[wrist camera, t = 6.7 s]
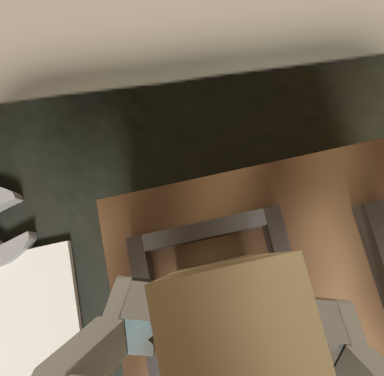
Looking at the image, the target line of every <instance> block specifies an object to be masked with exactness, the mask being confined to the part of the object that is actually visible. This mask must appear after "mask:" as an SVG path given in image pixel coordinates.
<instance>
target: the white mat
mask: <svg viewBox="0 0 384 376" xmlns="http://www.w3.org/2000/svg"><path fill="white" fill-rule="evenodd" d="M82 329H83V327H82V320H81V313H80V305H79V298H78V291H77V284H76V277H75V270H74V262H73V255H72V248H71V241H64V242H59V243H55V244H50V245H45V246H41V247H36V248H32V249H27V250H26V251H25V252H24V253H23V254H21V255H20V256H19V257H18V258H17V259H16V260H14V261H13V262H11V263H9V264H7V265H4V266H2V267H0V376H31V375H32V373H33V371H34V369H35V367H37V366H38V365H39V364H40V363H42V362H43V361H44V360H45V359H46V358H48V357H49V356H50V355H51V354H52V353H54V352H55V351H56V350H57V349H59V348H60V347H61V346H62V345H63V344H65V343H66V342H67V341H68V340H69V339H71V338H72V337H73V336H74V335H76V334H77V333H78V332H79V331H80V330H82Z"/></svg>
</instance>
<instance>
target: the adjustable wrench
mask: <svg viewBox="0 0 384 376" xmlns="http://www.w3.org/2000/svg"><path fill="white" fill-rule="evenodd" d="M22 201H23V198H22V195H20V194H18V193H16V192H14V191H11V190H8V189H5V188H2V187H0V212H1V211H3V210H5V209H7V208H9V207H11V206H13V205H16V204H18V203H20V202H22ZM36 240H37V234H36V232H31V231H27V232H25V233H23V234H21V235H19V236H17V237H15V238H13V239H11V240H9V241H7V242H5V243H4V242H2V241H1V240H0V267H2V266H4V265H7V264H9V263H11V262H13V261H14V260H16V259H17V258H18V257H19V256H20V255H21V254H23V253H24V252H25V251H26V250H27V249H32V247H33V245H34V243H35V241H36Z"/></svg>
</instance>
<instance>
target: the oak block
mask: <svg viewBox="0 0 384 376" xmlns="http://www.w3.org/2000/svg"><path fill="white" fill-rule="evenodd" d="M144 288H145V294H146V299H147V305H148V311H149V316H150V322H151V327H152V333H153V339H154V344H155V350H156V355H157V361H158V367H159V372H160V376H336V372H335V368H334V365H333V361H332V358H331V354H330V350H329V347H328V343H327V340H326V336H325V333H324V329H323V325H322V322H321V318H320V315H319V311H318V307H317V304H316V300H315V297H314V293H313V289H312V286H311V282H310V279H309V275H308V271H307V268H306V264H305V261H304V257H303V253H302V251H289V252H277V253H265V254H252V255H243V256H239V257H234V258H230V259H225V260H221V261H216V262H212V263H207V264H203V265H198V266H193V267H189V268H184V269H180V270H176V271H174V272H172V273H170V274H167V275H165V276H163V277H161V278H159V279H157V280H154V281H152V282H150V283H148V284H146V285H144Z"/></svg>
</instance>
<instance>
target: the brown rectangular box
mask: <svg viewBox="0 0 384 376" xmlns="http://www.w3.org/2000/svg"><path fill="white" fill-rule="evenodd" d="M96 202H97V208H98V215H99V221H100V227H101V234H102V240H103V246H104V252H105V259H106V265H107V271H108V278H109V284H110V290H111V291H112V288H113V285H114V282H115V280H116V278H117V277H118V275H120V276H128V277H137V278H144V279H151V280H157V279H159V278H161V277H163V276H165V275H167V274H170V273H172V272H174V271H176V270H180V269H184V268H189V267H193V266H198V265H203V264H207V263H212V262H216V261H221V260H225V259H230V258H234V257H239V256H243V255H252V254H265V253H277V252H289V251H302V253H303V257H304V261H305V264H306V268H307V271H308V275H309V279H310V282H311V286H312V289H313V293H314V297H322V298H333V299H340V300H349V301H351V302H352V303H353V305H354V307H355V310H356V313H357V315H358V318H359V321H360V323H361V326H362V329H363V331H364V334H365V337H366V340H367V342H368V345H369V348H375V349H376V350H377V351H378V352H379V353H380V354H381V355H382V356H383V357H384V138H380V139H376V140H371V141H366V142H362V143H357V144H353V145H348V146H343V147H339V148H334V149H330V150H325V151H320V152H316V153H311V154H306V155H302V156H297V157H293V158H288V159H283V160H279V161H274V162H270V163H265V164H260V165H256V166H251V167H247V168H242V169H237V170H233V171H228V172H224V173H219V174H214V175H210V176H205V177H200V178H196V179H191V180H187V181H182V182H177V183H173V184H168V185H164V186H159V187H154V188H150V189H145V190H141V191H136V192H131V193H127V194H122V195H118V196H113V197H108V198H104V199H99V200H96ZM122 366H123V372H124V376H160V372H159V367H158V361H157V355H156V350H155V351H154V356H153V357H150V356H139V355H128V354H127V357H126V358H125V359H124V361H123V362H122Z"/></svg>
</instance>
